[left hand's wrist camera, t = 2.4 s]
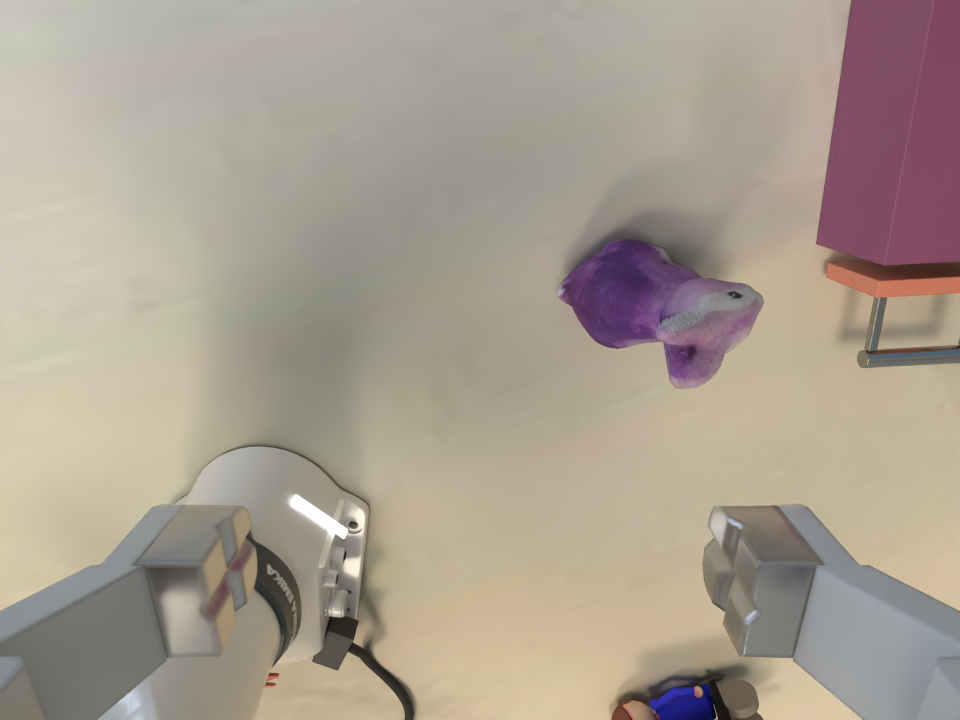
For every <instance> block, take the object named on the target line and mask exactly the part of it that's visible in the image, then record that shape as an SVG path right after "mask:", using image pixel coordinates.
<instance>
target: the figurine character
mask: <svg viewBox="0 0 960 720" xmlns="http://www.w3.org/2000/svg"><path fill="white" fill-rule="evenodd" d="M725 676H726V675H720V674H719V675H717V676H714V677H711V678H708V679H706V680H703V681H700V682H699V683H698V684H697V685H696V686H695V687H685V688H672V689H671V690H669V691H668V692H667V693H665V694H664V695H663V696H661V697H660V698H658V699H652V700H651V701H650V706H651V708H652V709H653V710H655V711H656V713H655V715H654V713H653V712H652V710H651V709H650V708H649V707H648V706H647V705H645V704H644V703H642V702H640V701H636V700H628V701H624V702H622V703H621V704H619V705H618V706H617V707H616V709H615V710H614V712H613V715H612V720H714V719H715V718H716V713H717V716H718V720H763V718H762V717H761V716H760V715H759V714H758V713H757V712H756V711H757V710H758V707H759V702H758V697H757V693H756V690H755V689H754V687H753V686H752V685H751V684H749V683H747V682H745V681H742V680H731V681H728V682H726V683H724V684H723V685H722V686H721V687H720V689H719V690H718V688H717V686H716V683H715V682H717V681H719V680H722V679H723V678H724V677H725ZM708 684H709V685H710V689H711V693H712V696H711V694H710V691H709V687H708ZM699 686H700V687H699ZM701 687H702V688H701ZM702 689H703V690H702ZM713 704H714V705H715V709H716V713H715V709H714V705H713Z"/></svg>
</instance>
